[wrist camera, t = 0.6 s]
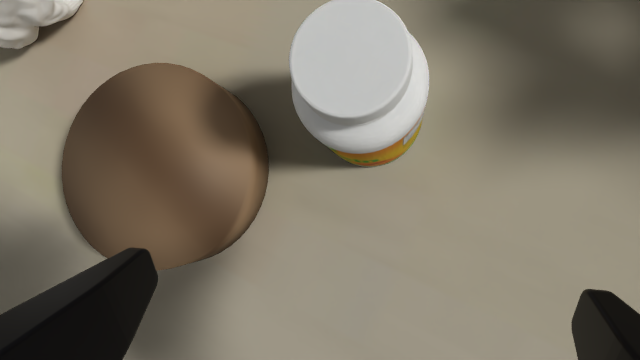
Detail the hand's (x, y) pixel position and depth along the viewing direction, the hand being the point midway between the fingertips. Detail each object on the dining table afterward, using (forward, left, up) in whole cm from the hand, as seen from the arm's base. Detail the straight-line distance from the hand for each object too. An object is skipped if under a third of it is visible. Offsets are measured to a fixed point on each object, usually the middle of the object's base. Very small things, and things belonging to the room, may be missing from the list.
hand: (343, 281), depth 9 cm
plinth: (-6, +11, -14) cm, 18 cm away
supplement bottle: (+4, +5, -14) cm, 15 cm away
